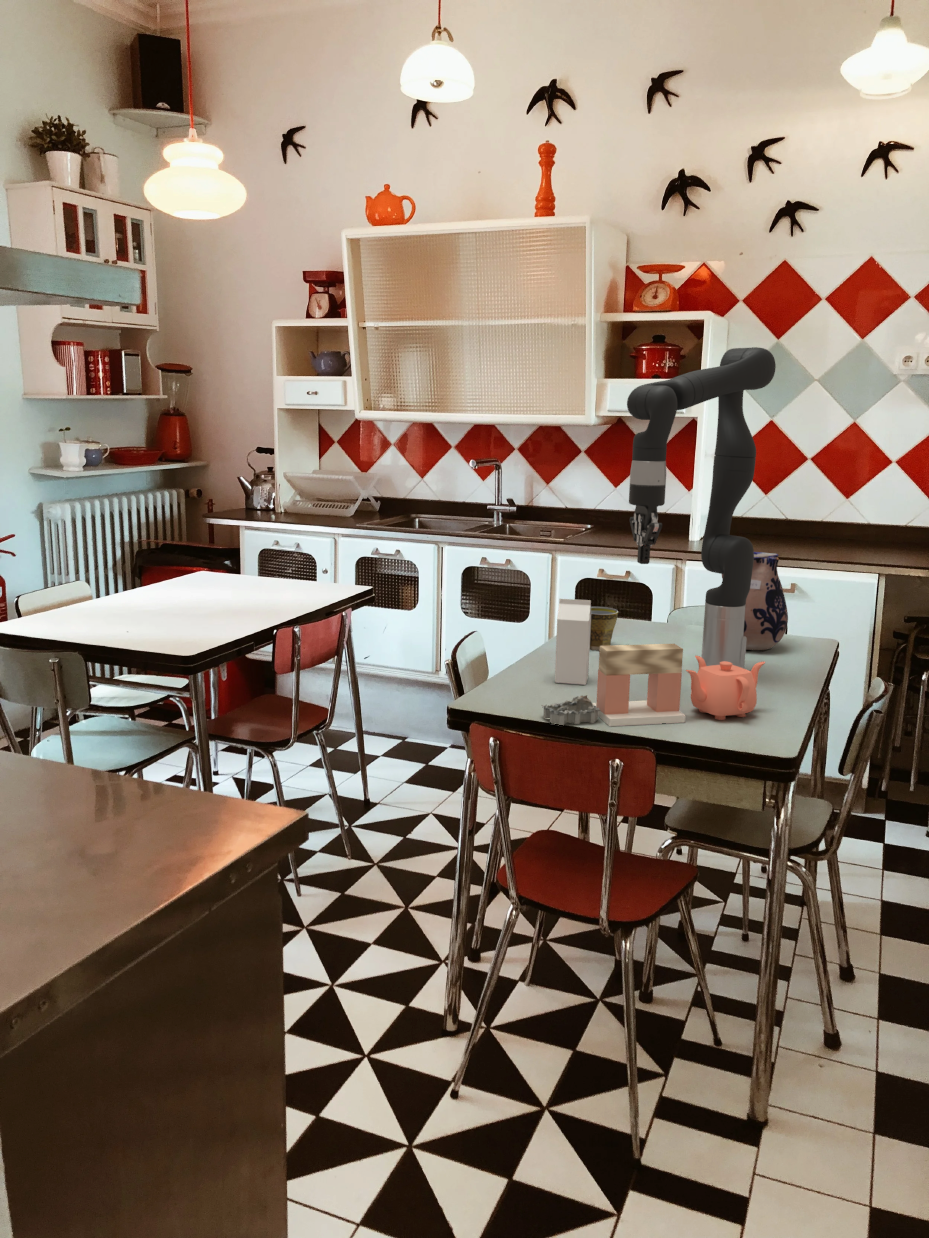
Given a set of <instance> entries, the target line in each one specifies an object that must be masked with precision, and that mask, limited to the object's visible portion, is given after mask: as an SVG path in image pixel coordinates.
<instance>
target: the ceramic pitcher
mask: <svg viewBox="0 0 929 1238" xmlns="http://www.w3.org/2000/svg"><path fill="white" fill-rule="evenodd" d="M779 560H780V559H779V554H778V553H775V552H773V553H769V552H765V551H764V552H763V551H760V552H759V551H754V562H753V570H752V577H751V585H750V590H749V593H748V596H747V598H746V607H745V620H744V632H743V636H745V637H746V638H747V640H746V651H765V650H770V649H771V648H773V647H774V646H776V645H777V644H778V643H779V642H781V640H782V638H783V637H784V635H785V633H786V631H787V627H788V624H789V622H788V621H789V613H788V606H787V602H786V597H785V593H784V591H783V590H784V589H783V584H782V583H781V580H780V576H779V574H778V573H779V572H778V563H779ZM721 578H722V580H723V574H721Z"/></svg>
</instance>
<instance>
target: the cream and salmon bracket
mask: <svg viewBox="0 0 929 1238" xmlns="http://www.w3.org/2000/svg"><path fill="white" fill-rule="evenodd" d="M682 673H683V672H682ZM682 673H663V674H648V679H647V680H648V681H647V695H646V700H630V686H631V675H605V674H603V673H602V672H601V671H600V670H599V668H598V669H597V684H596V685H597V686H596V687H597V689H596V702H592V705H593V708H594V706H596V708H599V710H600V711H598V718H600V719H601V720H602V721H603V722H604V723H605V724H606V725H607V726H608V727H620V726H622V727H623V726H625V727H626V726H642V725H643V726H644V725H660V724H661V725H662V723H666V724H682V723H686V715H685V714H684V713H683V712H682V711H680V706H681V690H682Z"/></svg>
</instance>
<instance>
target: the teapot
mask: <svg viewBox="0 0 929 1238" xmlns="http://www.w3.org/2000/svg"><path fill="white" fill-rule="evenodd" d="M694 657H695V659H696V660H697V662H698V671H697V672H696V671H695V670H692V669H691V670H690V669H686V670H685V671H686V672H687V673H688V675H690V679H691V682H690V691H691V692H690V700H691V704H692V706H693V707H695V708H697V709H698V712H699V713H704V714H705V713H707V714H710V715H712V716H714V719H715V720H717V721H718V720H719V721H725V720H726V716H736V717H737V718H747V713H748V714H749V713H751V712H753V711H754V709H755V707H756V706H757V702H758V701H757V699H758V697H757V695H758V694H757V686H758V682H759V680H758V679H759V673H760V669H761V668H762V667H763V665H764V664H766V661H759V662H756V663H755V664H753V666H752V668H751V670H748V669H747V668H745V667H744V668H741V667H738V666H735V665H732V663H731V662H727V661H723V662H720V665H712V666H706V663H705V661H704V659H703V658H702V657H701V656H699V655H695V656H694Z"/></svg>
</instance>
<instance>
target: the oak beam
mask: <svg viewBox="0 0 929 1238" xmlns="http://www.w3.org/2000/svg"><path fill="white" fill-rule="evenodd" d="M598 651H599V655H598V659H599V660H598V669H599V670H600V671H601V672H602V673H603V674H605V675H630V676H632V675H649V674H663V673H683V658H684V648H682V647H681V646H680V645H677V644H676V643H649V644H616V645H611V644H610V645H607V646H600V650H598Z"/></svg>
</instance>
